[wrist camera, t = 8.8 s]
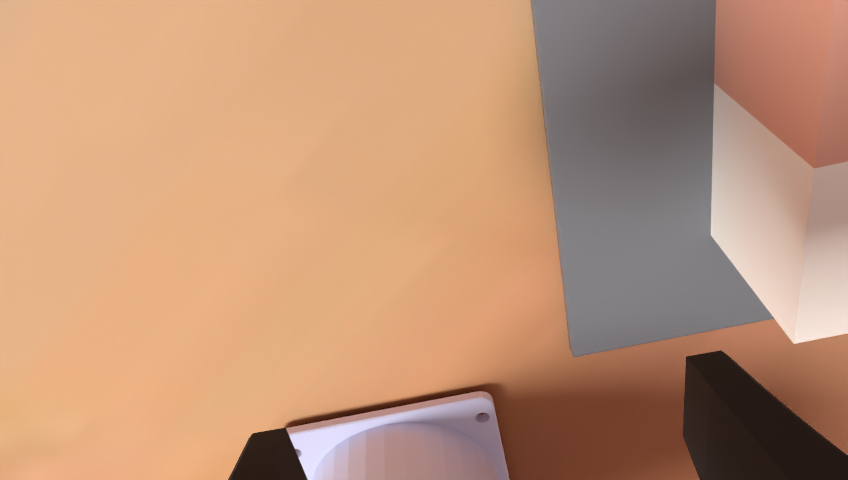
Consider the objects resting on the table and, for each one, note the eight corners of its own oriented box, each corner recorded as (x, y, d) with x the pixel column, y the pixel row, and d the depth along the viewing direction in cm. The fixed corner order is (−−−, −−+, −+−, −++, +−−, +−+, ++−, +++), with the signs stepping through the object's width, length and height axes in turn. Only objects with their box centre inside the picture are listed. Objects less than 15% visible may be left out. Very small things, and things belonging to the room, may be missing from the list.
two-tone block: (896, -164, 16) (1088, -147, 11) (842, 207, 21) (959, 311, 17) (718, -122, 16) (843, -90, 12) (710, 234, 21) (794, 343, 17)
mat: (949, 273, 23) (959, 282, 23) (569, 347, 24) (573, 357, 24) (1148, -447, 14) (1172, -454, 13) (498, -287, 14) (502, -289, 14)
